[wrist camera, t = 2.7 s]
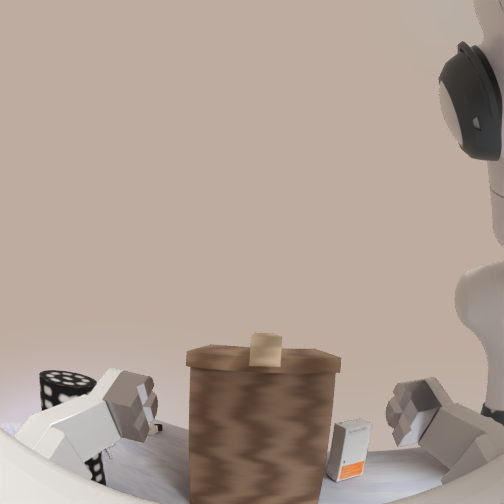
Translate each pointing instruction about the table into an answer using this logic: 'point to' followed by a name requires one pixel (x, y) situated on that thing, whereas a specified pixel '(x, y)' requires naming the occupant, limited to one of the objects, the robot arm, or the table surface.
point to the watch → (154, 428)
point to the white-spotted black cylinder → (62, 390)
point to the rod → (265, 350)
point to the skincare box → (349, 449)
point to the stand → (258, 425)
